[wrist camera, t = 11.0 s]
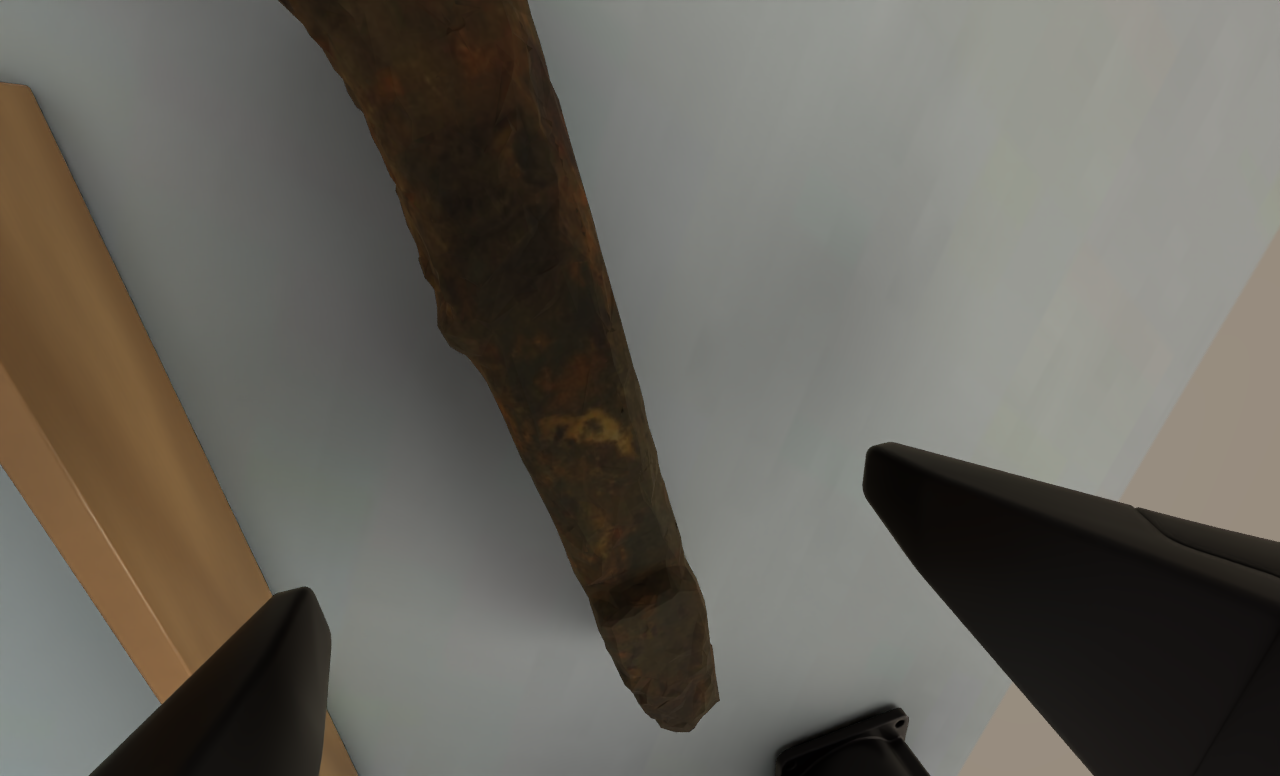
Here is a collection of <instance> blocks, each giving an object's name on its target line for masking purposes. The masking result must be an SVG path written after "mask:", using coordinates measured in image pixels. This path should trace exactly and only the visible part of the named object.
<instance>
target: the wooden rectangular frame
mask: <svg viewBox="0 0 1280 776" xmlns="http://www.w3.org/2000/svg"><path fill="white" fill-rule="evenodd" d="M0 464H1V465H2V467H3V468H4V470H5V471H6V473H7V474H8V476H9V477H10V479H11V480H12V482H13V483H14V485H15V486H16V488H17V489H18V491H19V492H20V494H21V495H22V497H23V498H24V500H25V501H26V503H27V504H28V506H29V507H30V509H31V510H32V512H33V513H34V515H35V516H36V518H37V519H38V521H39V522H40V524H41V525H42V527H43V528H44V530H45V531H46V533H47V534H48V536H49V537H50V539H51V540H52V542H53V543H54V545H55V546H56V548H57V549H58V551H59V552H60V554H61V555H62V557H63V558H64V560H65V561H66V563H67V564H68V566H69V567H70V569H71V570H72V572H73V573H74V574H75V576H76V577H77V579H78V580H79V582H80V583H81V585H82V586H83V588H84V589H85V591H86V592H87V594H88V595H89V597H90V598H91V600H92V601H93V603H94V604H95V606H96V607H97V609H98V610H99V612H100V613H101V615H102V616H103V618H104V619H105V621H106V622H107V624H108V625H109V627H110V628H111V630H112V631H113V633H114V634H115V636H116V637H117V639H118V640H119V642H120V643H121V645H122V646H123V648H124V649H125V651H126V652H127V654H128V655H129V657H130V658H131V660H132V661H133V663H134V664H135V666H136V667H137V669H138V670H139V672H140V673H141V675H142V676H143V678H144V679H145V681H146V682H147V684H148V685H149V687H150V688H151V690H152V691H153V693H154V694H155V695H156V697H157V698H158V700H159V701H160V703H161V704H163V703H164V702H165V701H166V700H167V699H168V698H169V697H170V696H171V695H172V694H173V693H174V692H175V691H176V690H177V689H178V688H179V687H180V686H181V685H182V684H183V683H184V682H185V681H186V680H187V679H188V678H189V677H190V676H191V675H192V674H193V673H194V672H195V671H196V670H197V669H198V668H199V667H200V666H202V665H203V664H204V663H205V662H206V661H207V660H208V659H209V658H210V657H211V656H212V655H213V654H214V653H215V652H216V651H217V650H218V649H219V648H220V647H221V646H222V645H223V644H224V643H225V642H226V641H227V640H228V639H229V638H230V637H231V636H232V635H233V634H234V633H235V632H236V631H237V630H238V629H239V628H240V627H241V626H242V625H243V624H244V623H245V622H247V621H248V620H249V619H250V618H251V617H252V616H253V615H254V614H255V613H256V612H257V611H258V610H259V609H260V608H261V607H262V606H263V605H264V604H265V603H266V602H267V601H268V600H269V599H270V598H271V597H272V594H271V592H270V590H269V588H268V586H267V583H266V581H265V579H264V577H263V575H262V573H261V571H260V569H259V567H258V565H257V562H256V560H255V558H254V556H253V554H252V552H251V550H250V548H249V546H248V544H247V542H246V539H245V537H244V535H243V533H242V531H241V529H240V527H239V525H238V523H237V521H236V518H235V516H234V514H233V512H232V510H231V508H230V506H229V504H228V502H227V500H226V498H225V495H224V493H223V491H222V489H221V487H220V485H219V483H218V481H217V479H216V477H215V475H214V472H213V470H212V468H211V466H210V464H209V462H208V460H207V458H206V456H205V454H204V451H203V449H202V447H201V445H200V443H199V441H198V439H197V437H196V435H195V433H194V431H193V428H192V426H191V424H190V422H189V420H188V418H187V416H186V414H185V412H184V410H183V407H182V405H181V403H180V401H179V399H178V397H177V395H176V393H175V391H174V389H173V387H172V384H171V382H170V380H169V378H168V376H167V374H166V372H165V370H164V368H163V366H162V363H161V361H160V359H159V357H158V355H157V353H156V351H155V349H154V347H153V345H152V343H151V340H150V338H149V336H148V334H147V332H146V330H145V328H144V326H143V324H142V322H141V319H140V317H139V315H138V313H137V311H136V309H135V307H134V305H133V303H132V301H131V299H130V296H129V294H128V292H127V290H126V288H125V286H124V284H123V282H122V280H121V278H120V275H119V273H118V271H117V269H116V267H115V265H114V263H113V261H112V259H111V257H110V255H109V252H108V250H107V248H106V246H105V244H104V242H103V240H102V238H101V236H100V234H99V232H98V229H97V227H96V225H95V223H94V221H93V219H92V217H91V215H90V213H89V211H88V208H87V206H86V204H85V202H84V200H83V198H82V196H81V194H80V192H79V190H78V188H77V185H76V183H75V181H74V179H73V177H72V175H71V173H70V171H69V169H68V167H67V164H66V162H65V160H64V158H63V156H62V154H61V152H60V150H59V148H58V146H57V144H56V141H55V139H54V137H53V135H52V133H51V131H50V129H49V127H48V125H47V123H46V120H45V118H44V116H43V114H42V112H41V110H40V108H39V106H38V104H37V102H36V100H35V97H34V95H33V93H32V91H31V89H30V88H29V87H28V86H26V85H20V84H12V83H4V82H0ZM319 776H358V774H357V772H356V770H355V768H354V766H353V764H352V762H351V759H350V757H349V755H348V753H347V751H346V749H345V747H344V745H343V743H342V741H341V738H340V736H339V734H338V732H337V730H336V728H335V726H334V724H333V722H332V720H331V718H330V715H329V713H328V711H327V709H326V720H325V733H324V744H323V753H322V760H321V766H320V772H319Z"/></svg>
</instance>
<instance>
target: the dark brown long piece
mask: <svg viewBox="0 0 1280 776" xmlns="http://www.w3.org/2000/svg"><path fill="white" fill-rule="evenodd" d="M278 1H279V2H280V3H281V4H282V5H283V6H284V7H285V8H287V9H288V10H289V11H290V12H291V13H292V14H293V15H294V16H295V17H296V18H297V19H298V20H299V21H300V22H301V23H302V24H303V25H304V27H305V28H306V30H307V32H308V33H309V35H310V36H311V37H312V38H313V39H314V41H315V42H316V43H317V44H318V45H319V46H320V47H321V48H322V49H323V51H324V53H325V54H326V56H327V58H328V60H329V61H330V63H331V65H332V67H333V68H334V70H335V71H336V72H337V73H338V74H339V75H340V77H341V78H342V79H343V81H344V83H345V86H346V89H347V92H348V94H349V95H350V97H351V99H352V100H353V102H354V104H355V105H356V107H357V108H358V109H359V110H361V111H362V112H363V113H364V116H365V119H366V122H367V125H368V127H369V130H370V133H371V136H372V138H373V140H374V142H375V144H376V146H377V148H378V150H379V151H380V153H381V156H382V158H383V160H384V163H385V165H386V167H387V170H388V172H389V174H390V176H391V178H392V179H393V181H394V182H395V184H396V190H395V191H396V193H397V195H398V197H399V200H400V203H401V206H402V210H403V213H404V216H405V220H406V223H407V226H408V228H409V230H410V232H411V234H412V236H413V238H414V240H415V243H416V245H417V248H418V252H419V262H420V265H421V268H422V271H423V274H424V277H425V279H426V280H427V281H428V282H429V283H430V285H431V286H432V287H433V288H434V290H435V296H436V303H437V326H438V328H439V329H440V331H441V333H442V334H443V336H444V338H445V339H446V341H447V343H448V344H449V346H450V347H452V348H453V349H455V350H456V351H458V352H460V353H462V354H464V355H466V356H467V357H468V358H469V359H470V361H471V362H472V363H473V364H474V366H475V367H476V368H477V369H478V370H479V372H480V373H481V374H482V376H483V377H484V379H485V380H486V382H487V384H488V386H489V388H490V390H491V392H492V394H493V396H494V398H495V400H496V402H497V404H498V407H499V409H500V411H501V413H502V415H503V417H504V420H505V422H506V424H507V427H508V429H509V431H510V434H511V436H512V438H513V441H514V443H515V445H516V448H517V450H518V452H519V454H520V457H521V459H522V461H523V463H524V465H525V467H526V468H527V470H528V472H529V474H530V476H531V478H532V480H533V482H534V484H535V486H536V488H537V490H538V492H539V494H540V496H541V498H542V500H543V502H544V504H545V506H546V508H547V510H548V512H549V514H550V516H551V518H552V520H553V522H554V524H555V526H556V529H557V531H558V533H559V536H560V538H561V541H562V543H563V545H564V548H565V550H566V554H567V556H568V559H569V561H570V564H571V566H572V569H573V571H574V574H575V575H576V577H577V579H578V580H579V582H580V584H581V585H582V587H583V589H584V591H585V592H586V594H587V596H588V598H589V601H590V605H591V608H592V611H593V614H594V617H595V620H596V624H597V627H598V630H599V632H600V634H601V636H602V638H603V640H604V642H605V646H606V649H607V650H608V652H609V654H610V655H611V657H612V659H613V661H614V664H615V666H616V668H617V670H618V672H619V674H620V676H621V678H622V680H623V682H624V684H625V686H626V687H627V688H629V689H630V690H631V692H632V693H633V694H634V696H635V698H636V700H637V702H638V703H639V704H640V706H641V707H642V709H643V710H644V712H645V713H646V714H647V715H649V716H650V717H651V718H652V719H655V720H656V721H657V723H658V724H659V725H660V727H661V728H663V729H667V730H670V731H673V732H690V731H691V730H692V729H694V728H695V726H696V725H697V723H698V722H699V720H700V719H701V718H702V717H703V716H704V715H705V714H706V713H707V712H708V711H709V710H710V709H711V708H712V707H713V706H714V705H715V704H716V703H717V702H719V701H720V699H719V692H718V686H717V680H716V674H715V664H714V656H713V648H712V645H711V644H710V637H709V629H708V620H707V611H706V606H705V601H704V598H703V595H702V593H701V590H700V587H699V584H698V582H697V579H696V577H695V575H694V573H693V572H692V570H691V568H690V566H689V564H688V562H687V560H686V558H685V555H684V551H683V547H682V542H681V536H680V533H679V530H678V527H677V523H676V520H675V517H674V514H673V511H672V508H671V505H670V501H669V498H668V494H667V491H666V487H665V483H664V481H663V479H662V476H661V473H660V469H659V464H658V457H657V451H656V448H655V445H654V442H653V439H652V435H651V432H650V429H649V426H648V421H647V417H646V412H645V406H644V401H643V397H642V393H641V390H640V386H639V382H638V379H637V376H636V373H635V370H634V367H633V364H632V360H631V356H630V353H629V349H628V345H627V341H626V338H625V334H624V330H623V327H622V323H621V319H620V316H619V312H618V309H617V306H616V302H615V299H614V295H613V292H612V288H611V284H610V281H609V277H608V274H607V270H606V267H605V263H604V259H603V256H602V253H601V249H600V245H599V241H598V237H597V234H596V230H595V226H594V222H593V218H592V215H591V211H590V208H589V204H588V201H587V197H586V194H585V191H584V187H583V184H582V181H581V177H580V174H579V170H578V167H577V163H576V160H575V156H574V153H573V149H572V146H571V142H570V139H569V135H568V132H567V128H566V125H565V121H564V117H563V114H562V110H561V106H560V102H559V99H558V97H557V95H556V93H555V90H554V88H553V86H552V84H551V82H550V79H549V75H548V70H547V66H546V62H545V58H544V55H543V51H542V48H541V44H540V41H539V38H538V35H537V32H536V29H535V25H534V22H533V19H532V16H531V12H530V9H529V5H528V1H527V0H278Z"/></svg>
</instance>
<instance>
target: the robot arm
mask: <svg viewBox="0 0 1280 776" xmlns="http://www.w3.org/2000/svg"><path fill="white" fill-rule="evenodd" d="M862 487H863V492H864V495H865V497H866V499H867V501H868V502H869V504H870V505H871V506H872V508H873V509H874V511H875V512H876V513H877V515H878V516H879V518H880V519H881V520H882V522H883V523H884V525H885V526H886V528H887V529H888V530H889V532H890V533H891V535H892V536H893V537H894V539H895V540H896V542H897V543H898V544H899V546H900V547H901V549H902V550H903V552H904V553H905V554H906V556H907V557H908V559H909V560H910V561H911V563H912V564H913V565H914V567H915V568H916V569H917V570H918V572H919V573H920V574H921V575H922V576H923V578H924V579H925V580H926V581H927V582H928V584H929V585H930V586H931V587H932V588H933V589H934V591H935V592H936V593H937V594H938V595H939V596H940V598H941V599H942V600H943V601H944V602H945V603H946V605H947V606H948V607H949V608H950V609H951V610H952V611H953V613H954V614H955V615H956V616H957V617H958V618H959V620H960V621H961V622H962V623H963V624H964V625H965V627H966V628H967V629H968V630H969V631H970V632H971V634H972V635H973V636H974V637H975V638H976V639H977V641H978V642H979V643H980V644H981V645H982V646H983V648H984V649H985V650H986V651H987V652H988V653H989V654H990V656H991V657H992V658H993V659H994V660H995V661H996V663H997V664H998V665H999V666H1000V667H1001V668H1002V670H1003V671H1004V672H1005V673H1006V674H1007V675H1008V677H1009V678H1010V679H1011V680H1012V681H1013V682H1014V683H1015V685H1016V686H1017V687H1018V688H1019V689H1020V691H1021V692H1022V693H1023V694H1024V695H1025V696H1026V697H1027V699H1028V700H1029V701H1030V702H1031V703H1032V704H1033V706H1034V707H1035V708H1036V709H1037V710H1038V711H1039V713H1040V714H1041V715H1042V716H1043V717H1044V718H1045V720H1046V721H1047V722H1048V723H1049V724H1050V725H1051V727H1052V728H1053V729H1054V730H1055V731H1056V732H1057V733H1058V734H1059V736H1060V737H1061V738H1062V739H1063V740H1064V742H1065V743H1066V744H1067V745H1068V746H1069V747H1070V749H1071V750H1072V751H1073V752H1074V753H1075V754H1076V756H1077V757H1078V758H1079V759H1080V760H1081V761H1082V763H1083V764H1084V765H1085V766H1086V767H1087V768H1088V770H1089V771H1090V772H1091V773H1092V774H1093V775H1094V776H1280V542H1276V541H1272V540H1268V539H1264V538H1259V537H1255V536H1251V535H1246V534H1242V533H1238V532H1234V531H1229V530H1225V529H1221V528H1216V527H1213V526H1209V525H1205V524H1201V523H1197V522H1193V521H1189V520H1185V519H1181V518H1177V517H1173V516H1169V515H1166V514H1162V513H1158V512H1154V511H1150V510H1147V509H1143V508H1139V507H1138V508H1134V507H1133V506H1131V505H1128V504H1124V503H1120V502H1116V501H1113V500H1109V499H1105V498H1101V497H1098V496H1094V495H1090V494H1086V493H1083V492H1079V491H1075V490H1071V489H1068V488H1064V487H1060V486H1056V485H1052V484H1049V483H1045V482H1041V481H1037V480H1034V479H1030V478H1026V477H1022V476H1019V475H1015V474H1011V473H1007V472H1004V471H1000V470H996V469H992V468H989V467H985V466H981V465H977V464H974V463H970V462H966V461H962V460H958V459H955V458H951V457H947V456H943V455H940V454H936V453H932V452H928V451H925V450H921V449H917V448H913V447H910V446H906V445H902V444H898V443H894V442H887V443H883V444H879V445H875V446H872V447H870V448H869V449H868V451H867V453H866V459H865V468H864V476H863V484H862ZM330 656H331V633H330V629H329V626H328V624H327V622H326V619H325V617H324V615H323V612H322V610H321V608H320V605H319V603H318V601H317V598H316V596H315V594H314V592H313V591H312V590H311V589H310V588H308V587H300V588H296V589H292V590H288V591H284V592H280V593H277V594H275V595H274V596H272V597H271V598H270V599H269V600H268V601H267V602H266V603H265V604H264V605H263V606H262V607H261V608H260V609H259V610H258V611H257V612H256V613H255V614H254V615H253V616H252V617H251V618H250V619H249V620H248V621H247V622H245V623H244V624H243V625H242V626H241V627H240V628H239V629H238V630H237V631H236V632H235V633H234V634H233V635H232V636H231V637H230V638H229V639H228V640H227V641H226V642H225V643H224V644H223V645H222V646H221V647H220V648H219V649H218V650H217V651H216V652H215V653H214V654H213V655H212V656H211V657H210V658H209V659H208V660H207V661H206V662H205V663H204V664H203V665H202V666H200V667H199V668H198V669H197V670H196V671H195V672H194V673H193V674H192V675H191V676H190V677H189V678H188V679H187V680H186V681H185V682H184V683H183V684H182V685H181V686H180V687H179V688H178V689H177V690H176V691H175V692H174V693H173V694H172V695H171V696H170V697H169V698H168V699H167V700H166V701H165V702H164V703H163V704H162V705H161V706H160V707H159V708H158V709H157V710H155V711H154V712H153V713H152V714H151V715H150V716H149V717H148V718H147V719H146V720H145V721H144V722H143V723H142V724H141V725H140V726H139V727H138V728H137V729H136V730H135V731H134V732H133V733H132V734H131V735H130V736H129V737H128V738H127V739H126V740H125V741H124V742H123V743H122V744H121V745H120V746H119V747H118V748H117V749H116V750H115V751H114V752H113V753H112V754H111V755H109V756H108V757H107V758H106V759H105V760H104V761H103V762H102V763H101V764H100V765H99V766H98V767H97V768H96V769H95V770H94V771H93V772H92V773H91V774H90V775H89V776H319V772H320V766H321V760H322V753H323V744H324V733H325V720H326V707H327V695H328V682H329V669H330ZM908 722H909V717H908V716H907V715H906V714H905V712H904V711H903V710H902V709H901V708H896V709H893V710H890V711H887V712H885V713H882V714H880V715H877V716H874V717H872V718H869V719H866V720H864V721H861V722H859V723H856V724H853V725H851V726H848V727H845V728H843V729H840V730H838V731H835V732H832V733H830V734H827V735H824V736H822V737H819V738H817V739H814V740H811V741H809V742H806V743H803V744H801V745H798V746H796V747H793V748H790V749H788V750H785V751H784V752H782V753H781V754H780V755H779V756H778V757H777V759H776V768H775V776H930V775H929V773H928V772H927V771H926V769H925V768H924V767H923V765H922V764H921V763H920V761H919V760H918V759H917V757H916V756H915V755H914V753H913V752H912V751H911V749H910V748H909V747H908V745H907V744H906V743H905V736H906V731H907V727H908Z"/></svg>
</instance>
